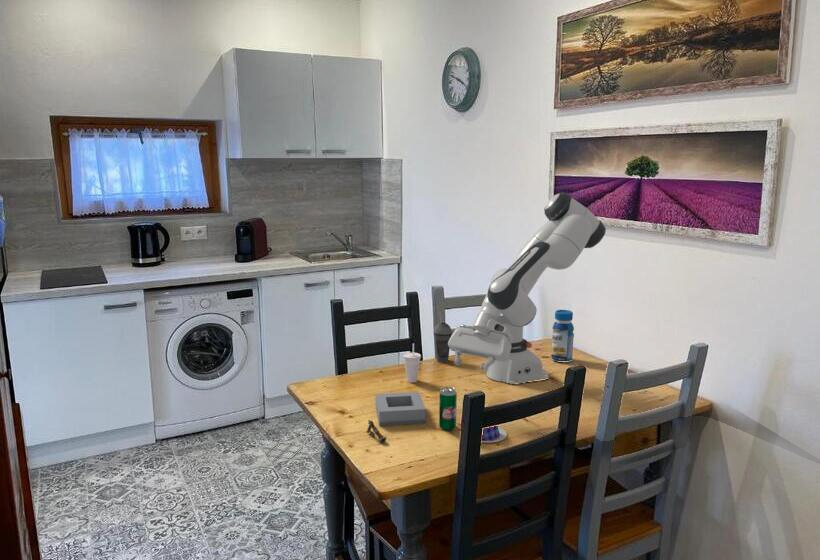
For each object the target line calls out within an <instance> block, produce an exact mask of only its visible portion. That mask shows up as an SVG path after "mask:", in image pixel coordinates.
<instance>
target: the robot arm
mask: <svg viewBox="0 0 820 560" xmlns="http://www.w3.org/2000/svg"><path fill="white" fill-rule="evenodd" d="M543 212H544V215H545V217H546V218H547V219H548V221H546V222H545V223H543V225H542V226H541V227H540V228H539V229H538V230H537V231H536V232H535V233H534V235H532V236H531V238H529V240H527V242H526V243H525V244H524V245H523V247H522V248H520V250H519V251H518V253H517V255H516V257H515V258H514V260H513V262H512V263H511V265H510V266H509V267H508V268H501V269H499V270H496V272H494V274H493V275H492V277H491V281H490V282H491V283H490V285H489V286H488V289H487V293H486V295H485V297H484V299H483V301H482V303H481V308H480V311H479V312H478V313H477V314H476V317H475V319H474V320H473V324H472V325H466V324H461V325H459V326H457V327H456V328H455V329H454V331H453V332H452V335H451V338H450V339H449V341H448V346H449V348H450V349H449V350H450V351H452V352H454V357H455V359H454V360H453V362H454V364H455V365H457V366H461V364H462V362H463V360H462V359H461V358H460V356H461V357H462V355H463V354H465V355H468V356H469V355H470V356H474V357H479V358H484V359H487V361H486V362H485V363H483V362H482V364H481V366H480V370H481V371H483V372H486V377H487V378H489V379H491V380H494V381H496V382H499V383H500V382H501V381H502V382H501V383H505V382H506V384H508V383H510V384H509V385H512V384H515V383H523V382H528V381H534V380H540V379H546V378H548V377H549V378H550V374H549V373H548V372H547V370H546V369H544V368H543V363H542V360H541V359H540V357H538V356H537V354H535V353H534V352H533V351H531V350H530V349H531V348H532V347H533V344H532V342H530V341H528V340H527V339H525V338H524V336H523V335H524V327H526V326H528V325H529V324H530V323H532V322H533V320H534V319H535V317H536V315H537V310H538V309H537V306H536V305H535V303H534V302H533V300H532V299H531V298H530V297H529V294H530V292H531V291H532V289H533V288H534V287H535V285H536V283H537V282H538V280H539V279H540V277H542V276H541V275H542V274H543V273H544V272H545V271H546V269H547V268H549V269H551V270H552V269H553V270H559V271H560V270H565V269H568V268H570V267H571V266H572V265H573V264H574V263H575V262H576V261H577V259H578V258H579V256H580V255H581V254H582V253H583V251H584V249H592V248H594V247H595V246H597V245H598V244H599V243H601V241H602V239H604V237H605V235H606V231H607V229H606V226H605V225H604V223H603V221H602V220H599V219H598V218H597V216H596V215H595V214H594V213H593V212H592V211H591V210H590V209H588V207H586V206H584V205H583V204H581V203H580V202H579V201H577V199H575V198H573V197H572V196H571V195H570V194H568V193H567V192H563V191H562V192H557V193H556V194H555V195H553V196H551V197H550V198H549V199H548V201H547V202H546V204H545V207H544V210H543ZM545 375H547V376H545ZM523 384H524V383H523Z"/></svg>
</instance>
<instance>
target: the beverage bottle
mask: <svg viewBox="0 0 820 560" xmlns="http://www.w3.org/2000/svg"><path fill="white" fill-rule="evenodd" d="M573 315H574V313H573V311H572V310H569V309H557V310H555V312H554V319H555V322H554V323H553V325H552V333H551V354H550V355H551V357H550V359H551V358H552V359H553V360H555V361H570V360H572V361H573V351H574V338H575V334H574V330H575V326H574V324H573V322H572V321H573V319H574V318H573ZM552 359H551V360H552ZM553 360H552V361H553Z"/></svg>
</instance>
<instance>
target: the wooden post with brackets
mask: <svg viewBox="0 0 820 560" xmlns="http://www.w3.org/2000/svg"><path fill="white" fill-rule="evenodd" d="M367 422H368V427H367V429H366V433H367V434H368V433H369V436H371V438H375V437H376V436H377V438H378V439H379V444H381V443H385V442H386V440H387V436H384V435H382V433H381V432H380V431H379V429H378V427H377V426H376V425H375V422H374V421H373V420H369V419H368V421H367Z"/></svg>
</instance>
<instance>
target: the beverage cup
mask: <svg viewBox="0 0 820 560" xmlns="http://www.w3.org/2000/svg"><path fill="white" fill-rule="evenodd" d="M438 313H439V320H440V322H439V323H437V324H436V326H435V327H434V329H433V337H434V344H435V347H434V348H435V357H436V358H435V359H436V362H437V363H441V364H443V363H444V364H445V363H448V362H449V357H450V350H451V349H450V348H449V346H448V341H449V339H450V338H451V336H452V334H453V332H452V328H451V326H450V324H448V323H446V322H443V321H442V320H443V319H442V312H441V311H439V312H438Z"/></svg>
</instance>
